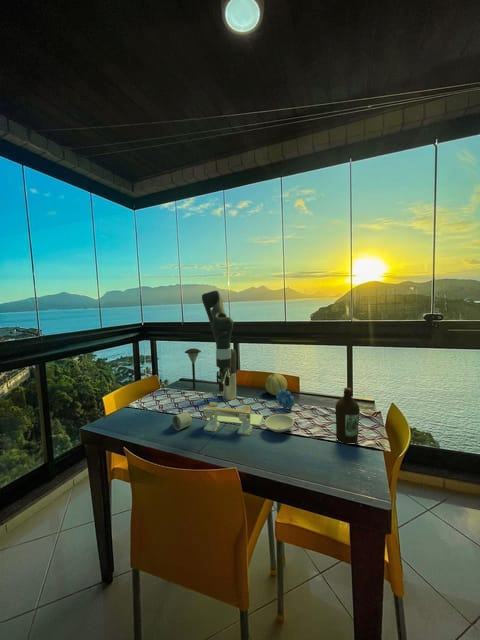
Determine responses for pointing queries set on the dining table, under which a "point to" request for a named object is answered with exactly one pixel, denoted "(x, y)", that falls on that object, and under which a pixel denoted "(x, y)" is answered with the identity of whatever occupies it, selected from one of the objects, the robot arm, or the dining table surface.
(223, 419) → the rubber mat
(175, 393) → the dining table surface
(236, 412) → the birch batten
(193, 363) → the solar garden light
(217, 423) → the hook rack
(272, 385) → the cantaloupe
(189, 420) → the ceramic mug
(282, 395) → the grapes
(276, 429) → the dish
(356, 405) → the olive oil
